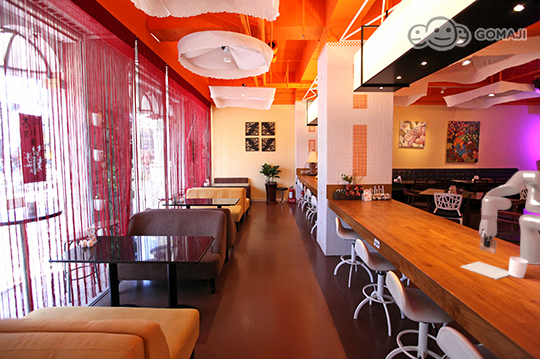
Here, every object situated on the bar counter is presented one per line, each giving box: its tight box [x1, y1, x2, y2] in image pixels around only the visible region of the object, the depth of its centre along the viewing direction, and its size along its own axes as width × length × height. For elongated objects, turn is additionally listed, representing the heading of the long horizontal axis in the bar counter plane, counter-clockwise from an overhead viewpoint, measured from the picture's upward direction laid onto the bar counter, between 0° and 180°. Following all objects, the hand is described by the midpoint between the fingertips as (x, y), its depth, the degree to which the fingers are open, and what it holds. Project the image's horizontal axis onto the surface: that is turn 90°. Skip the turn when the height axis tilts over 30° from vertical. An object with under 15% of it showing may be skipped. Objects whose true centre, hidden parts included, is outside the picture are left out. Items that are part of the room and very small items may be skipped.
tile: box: [479, 236, 497, 254], centre depth 167 cm, size 2×8×8 cm, turn 22°
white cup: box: [508, 256, 529, 279], centre depth 157 cm, size 8×8×10 cm
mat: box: [460, 261, 511, 281], centre depth 167 cm, size 18×20×1 cm
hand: (487, 246), depth 167 cm, fingers closed on tile, 1 cm apart
